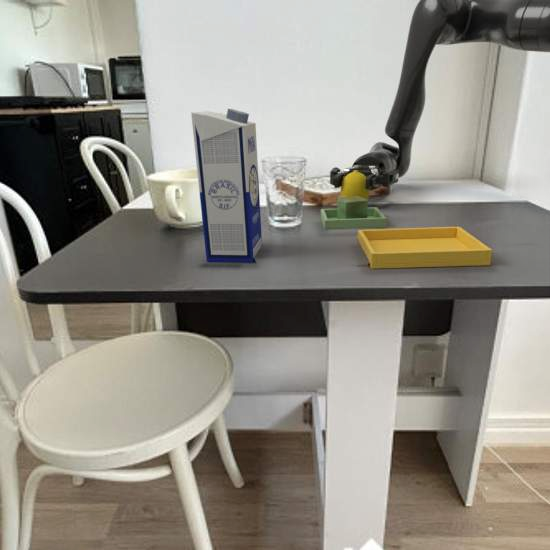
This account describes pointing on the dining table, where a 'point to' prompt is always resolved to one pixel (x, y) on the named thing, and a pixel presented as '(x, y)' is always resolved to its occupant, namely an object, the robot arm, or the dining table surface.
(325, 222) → the green tray
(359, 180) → the lemon
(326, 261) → the dining table surface
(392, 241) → the yellow tray
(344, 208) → the green block
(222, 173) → the milk carton
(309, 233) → the dining table surface
